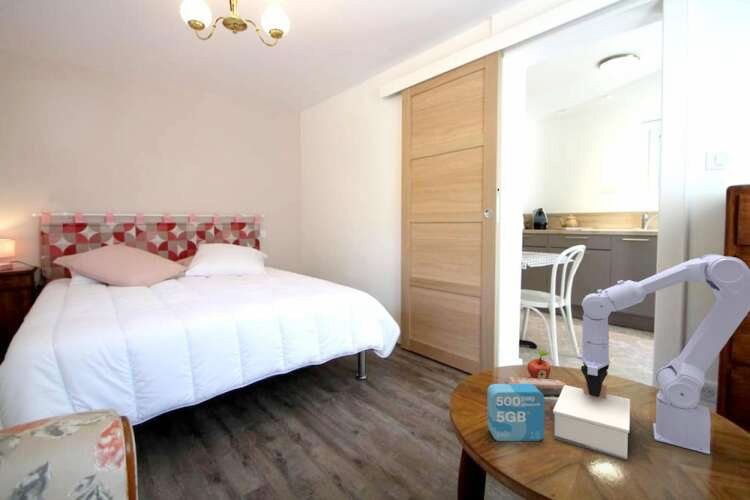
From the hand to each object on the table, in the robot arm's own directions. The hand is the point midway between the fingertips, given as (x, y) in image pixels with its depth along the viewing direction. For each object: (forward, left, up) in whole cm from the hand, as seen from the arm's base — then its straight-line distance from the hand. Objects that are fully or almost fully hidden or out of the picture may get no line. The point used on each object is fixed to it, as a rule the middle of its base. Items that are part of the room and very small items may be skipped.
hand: (594, 393), depth 90 cm
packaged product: (+15, -8, -8) cm, 19 cm away
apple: (+17, -18, -8) cm, 26 cm away
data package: (+15, +18, -8) cm, 25 cm away
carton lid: (0, +6, -1) cm, 6 cm away
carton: (0, +6, -7) cm, 10 cm away
